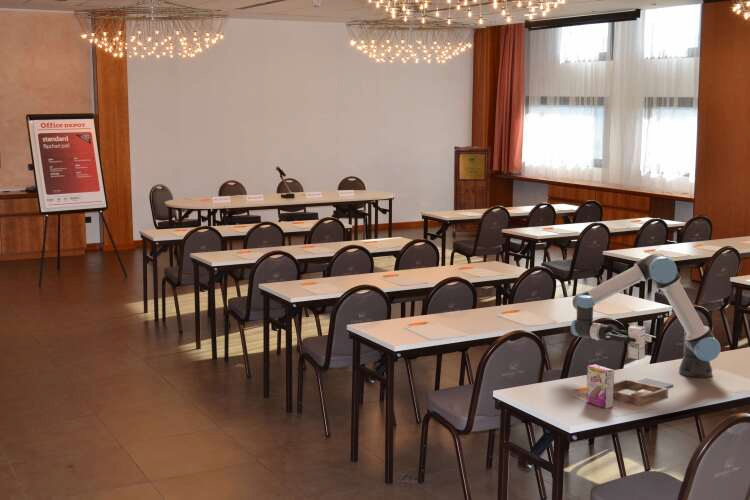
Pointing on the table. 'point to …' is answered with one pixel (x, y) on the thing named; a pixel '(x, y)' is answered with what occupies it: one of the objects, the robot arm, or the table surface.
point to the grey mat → (656, 383)
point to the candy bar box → (600, 386)
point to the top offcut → (641, 393)
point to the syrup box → (633, 348)
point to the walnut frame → (656, 391)
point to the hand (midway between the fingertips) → (646, 340)
